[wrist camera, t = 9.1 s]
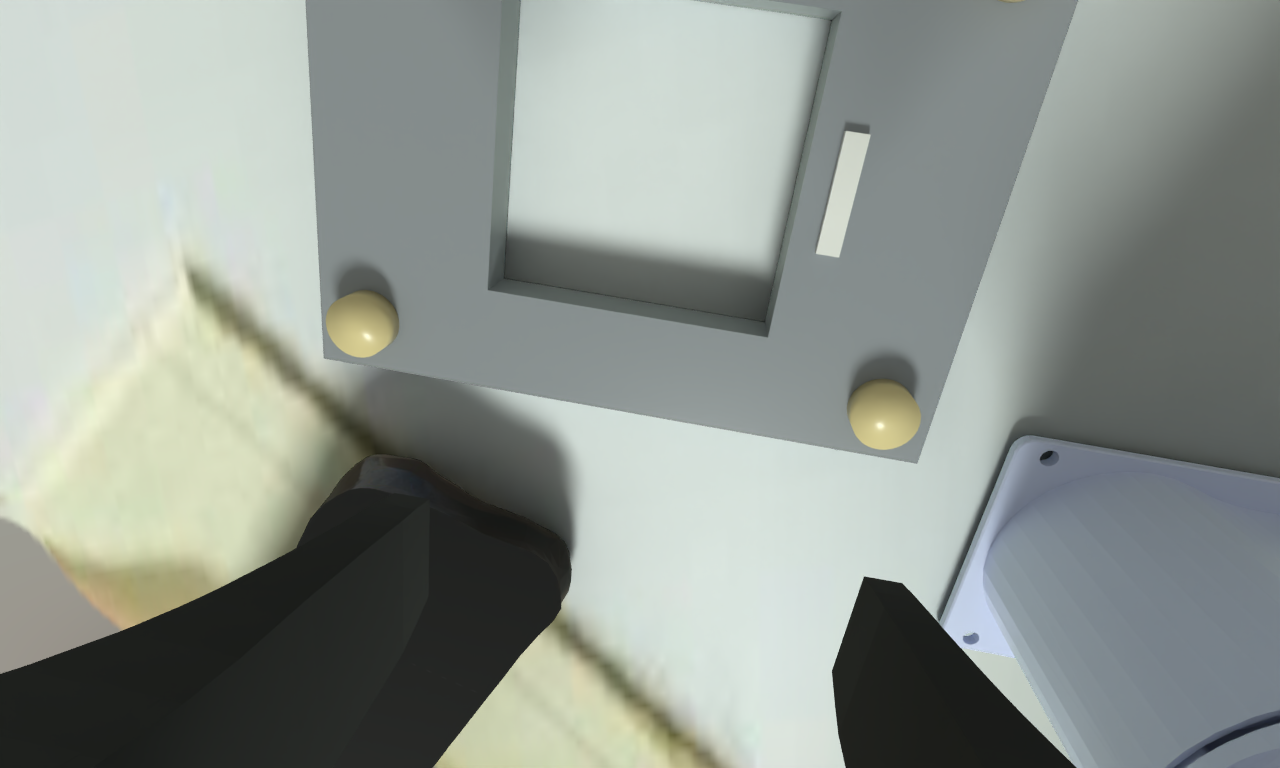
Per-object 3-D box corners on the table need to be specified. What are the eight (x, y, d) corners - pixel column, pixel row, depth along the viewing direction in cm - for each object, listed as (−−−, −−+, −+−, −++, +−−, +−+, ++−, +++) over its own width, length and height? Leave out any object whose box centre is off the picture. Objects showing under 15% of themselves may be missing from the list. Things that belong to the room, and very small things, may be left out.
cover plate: (1083, -97, 15) (1141, -132, 13) (903, 440, 20) (924, 477, 18) (330, -195, 16) (271, -243, 14) (349, 342, 21) (308, 367, 19)
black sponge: (394, 406, 23) (336, 457, 19) (601, 534, 23) (580, 604, 20) (244, 682, 29) (180, 758, 25) (413, 775, 30) (373, 859, 26)
